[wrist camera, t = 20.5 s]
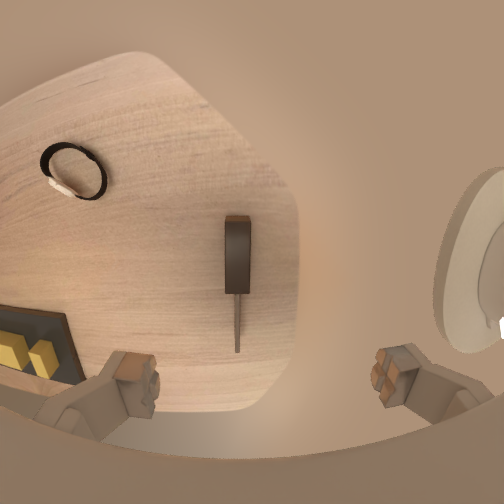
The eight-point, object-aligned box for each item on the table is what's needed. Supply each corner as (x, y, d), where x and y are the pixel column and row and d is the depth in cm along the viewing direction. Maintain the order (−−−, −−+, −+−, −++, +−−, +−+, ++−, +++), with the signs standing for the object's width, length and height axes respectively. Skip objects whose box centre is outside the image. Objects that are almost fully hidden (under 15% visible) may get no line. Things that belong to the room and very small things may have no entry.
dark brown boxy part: (248, 215, 25) (251, 221, 22) (246, 335, 28) (248, 352, 25) (225, 215, 25) (224, 221, 22) (226, 335, 28) (226, 353, 25)
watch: (45, 175, 22) (24, 177, 18) (64, 132, 21) (44, 129, 18) (99, 211, 24) (81, 218, 20) (121, 166, 23) (104, 166, 19)
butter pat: (51, 341, 26) (39, 355, 23) (59, 365, 27) (49, 379, 24) (39, 339, 26) (27, 352, 23) (48, 362, 26) (37, 376, 24)
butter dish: (64, 313, 26) (60, 318, 25) (87, 381, 29) (83, 387, 28) (-25, 300, 25) (-30, 303, 24) (-4, 357, 28) (-8, 361, 26)
